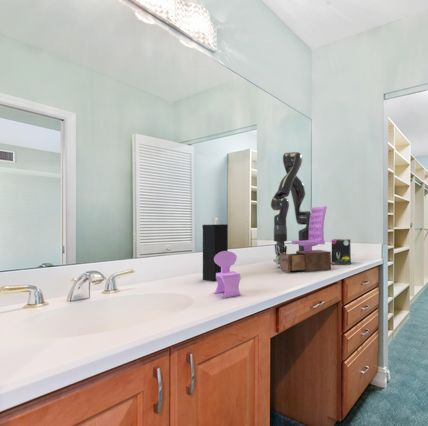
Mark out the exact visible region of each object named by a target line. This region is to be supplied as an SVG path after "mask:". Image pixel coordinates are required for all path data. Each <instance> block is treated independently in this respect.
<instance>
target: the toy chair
mask: <svg viewBox="0 0 428 426" xmlns="http://www.w3.org/2000/svg"><path fill="white" fill-rule="evenodd" d="M237 259H238V257H237V255H236V253H235V252H233V251H230V250H228V251H222V252H219V253H218V254H216V255H215V257H214V262H215V263H216V264H217V265H218V266H220V267H221V273H216V279H217V281H216V283H217V284H216V285H217V286H216V289H215V291H214V294H220V293H221V294H222V293H223V295H222V297H221V298H222V299H225V298H231V297H237V296H241V292H240V286H239V285H240V281H241V273H239V272H236V271H234V270H231V267H232V266H234V265H235V263H236V261H237Z"/></svg>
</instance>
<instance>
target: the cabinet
mask: <svg viewBox="0 0 428 426" xmlns="http://www.w3.org/2000/svg"><path fill="white" fill-rule="evenodd" d="M296 253H300V254H305V265H306V269H305V270H300V271H301V272H304V273H313V272H314V273H315V272H323V271H325V272H326V271H331V270H332V251H329V250H322V249H312V250H308V251H298V250H296V251H295V254H296Z"/></svg>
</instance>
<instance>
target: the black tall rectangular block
mask: <svg viewBox="0 0 428 426" xmlns="http://www.w3.org/2000/svg"><path fill="white" fill-rule="evenodd" d="M218 220H219V218H218V217H213V216H212V221H213V224H202V281H203V280H204V281H211V282H217V279H216V273H221V267H220V266H218V265H217V264H216V263H215V262H214V257H215V255H216V254H218V253H219V252H222V251H229V250H228V247H229V246H228V245H229V244H228V243H229V241H228V236H229V235H228V231H229V229H228V228H229V225H228V224H227V223H226V224H224V223H223V224H222V223H221V224H220V223H219V224H217V223H218Z"/></svg>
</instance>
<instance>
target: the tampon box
mask: <svg viewBox="0 0 428 426" xmlns="http://www.w3.org/2000/svg"><path fill="white" fill-rule="evenodd" d="M330 242H331V265H346V266H347V265H348V266H350V264H351V263H352V255H351V250H352V249H351V239H350V238H348V239H346V238H345V239H343V238H334V239H331V241H330Z"/></svg>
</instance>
